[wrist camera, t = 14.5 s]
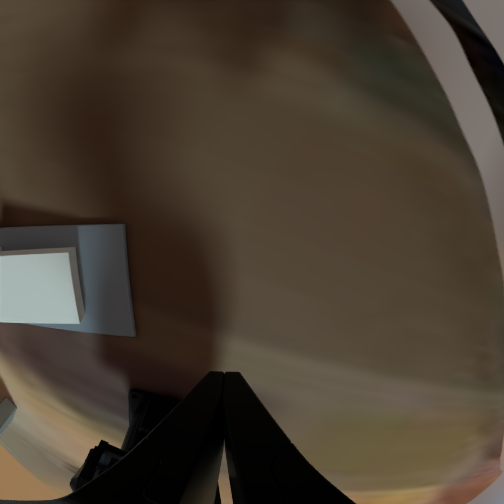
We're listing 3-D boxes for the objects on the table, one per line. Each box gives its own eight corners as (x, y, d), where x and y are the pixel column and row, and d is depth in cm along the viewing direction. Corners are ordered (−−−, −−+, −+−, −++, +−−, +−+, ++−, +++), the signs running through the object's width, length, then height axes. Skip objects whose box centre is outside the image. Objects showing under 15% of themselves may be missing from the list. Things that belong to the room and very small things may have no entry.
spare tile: (68, 252, 17) (-22, 257, 15) (79, 323, 18) (-8, 321, 16) (75, 247, 19) (-12, 251, 17) (85, 314, 20) (0, 313, 18)
